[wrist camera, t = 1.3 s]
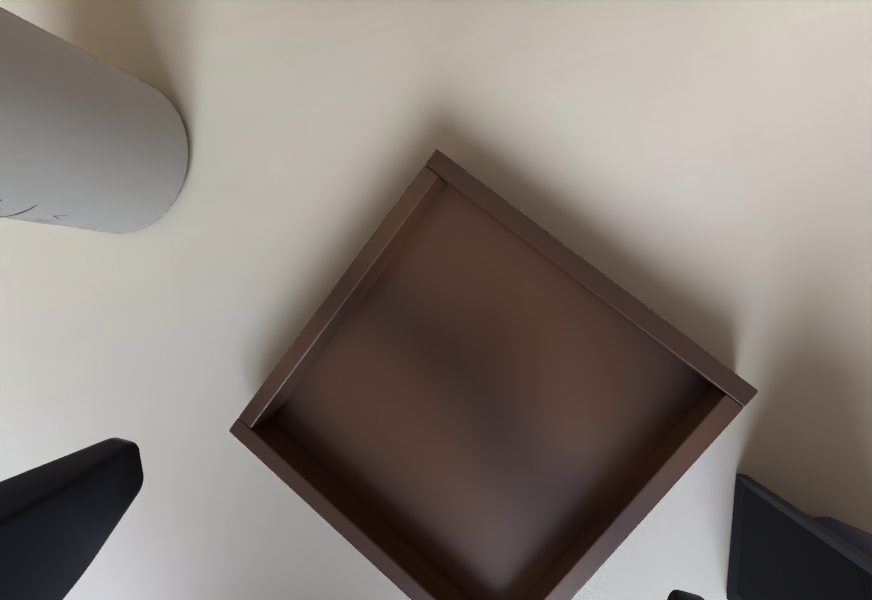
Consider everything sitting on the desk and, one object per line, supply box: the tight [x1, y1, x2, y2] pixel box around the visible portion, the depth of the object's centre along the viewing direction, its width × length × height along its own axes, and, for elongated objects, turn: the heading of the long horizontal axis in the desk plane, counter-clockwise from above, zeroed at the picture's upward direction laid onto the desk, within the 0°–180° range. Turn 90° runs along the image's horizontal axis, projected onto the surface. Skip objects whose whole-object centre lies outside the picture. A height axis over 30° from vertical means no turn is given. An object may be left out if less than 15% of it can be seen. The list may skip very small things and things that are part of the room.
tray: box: [229, 150, 758, 600], centre depth 24 cm, size 16×16×3 cm
